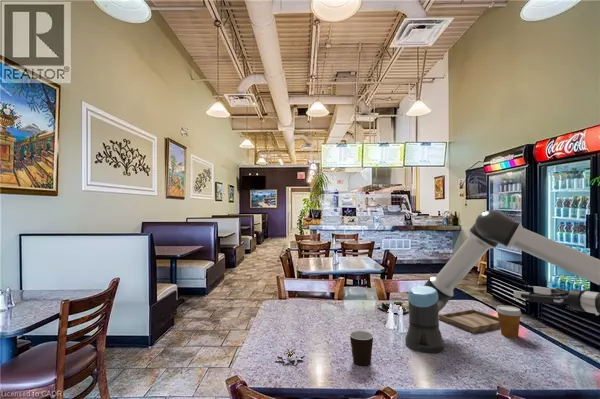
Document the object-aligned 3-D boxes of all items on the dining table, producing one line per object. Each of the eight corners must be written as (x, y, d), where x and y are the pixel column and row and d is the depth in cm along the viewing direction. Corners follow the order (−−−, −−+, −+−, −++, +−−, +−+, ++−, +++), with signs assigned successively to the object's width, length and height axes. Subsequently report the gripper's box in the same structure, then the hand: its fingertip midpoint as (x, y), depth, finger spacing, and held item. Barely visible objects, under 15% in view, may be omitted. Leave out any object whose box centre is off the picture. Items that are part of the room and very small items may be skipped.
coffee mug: (369, 370, 109) (368, 341, 109) (346, 364, 113) (346, 336, 114) (379, 357, 119) (378, 331, 119) (358, 352, 123) (357, 326, 124)
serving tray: (472, 333, 141) (472, 327, 142) (438, 319, 160) (438, 314, 160) (508, 325, 150) (508, 320, 150) (472, 313, 169) (472, 309, 169)
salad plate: (390, 302, 193) (390, 295, 193) (418, 308, 180) (418, 300, 180) (373, 309, 179) (373, 301, 179) (402, 316, 166) (401, 308, 167)
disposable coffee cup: (519, 333, 141) (518, 306, 142) (525, 340, 132) (523, 312, 133) (495, 330, 145) (494, 304, 146) (498, 337, 136) (497, 309, 137)
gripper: (567, 317, 108) (506, 304, 127) (604, 306, 118) (542, 296, 137) (564, 295, 109) (504, 286, 128) (601, 286, 119) (540, 279, 138)
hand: (524, 291), depth 133 cm, fingers open, 13 cm apart
